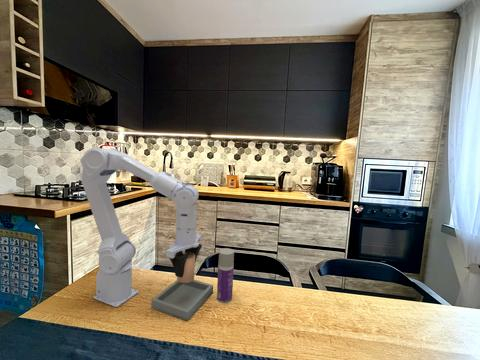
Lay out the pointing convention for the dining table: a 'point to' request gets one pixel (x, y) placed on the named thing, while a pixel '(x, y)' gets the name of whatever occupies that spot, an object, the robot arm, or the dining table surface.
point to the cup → (188, 268)
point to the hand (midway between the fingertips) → (184, 271)
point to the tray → (182, 298)
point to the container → (225, 275)
